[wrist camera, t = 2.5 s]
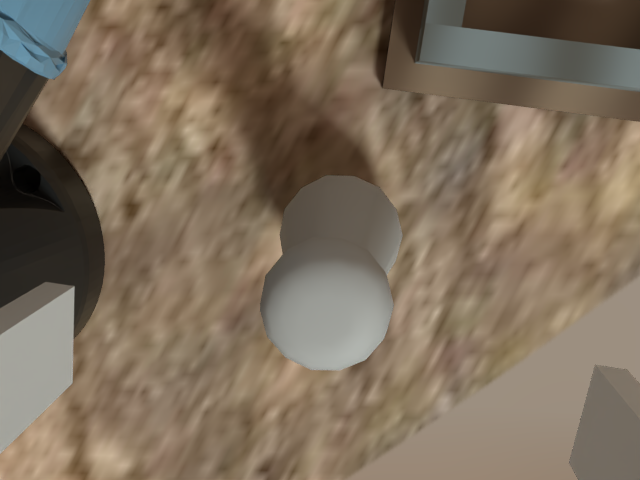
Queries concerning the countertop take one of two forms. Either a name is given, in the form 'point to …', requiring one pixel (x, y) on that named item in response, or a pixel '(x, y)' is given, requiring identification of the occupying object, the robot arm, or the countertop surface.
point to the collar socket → (520, 53)
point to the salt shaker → (332, 274)
